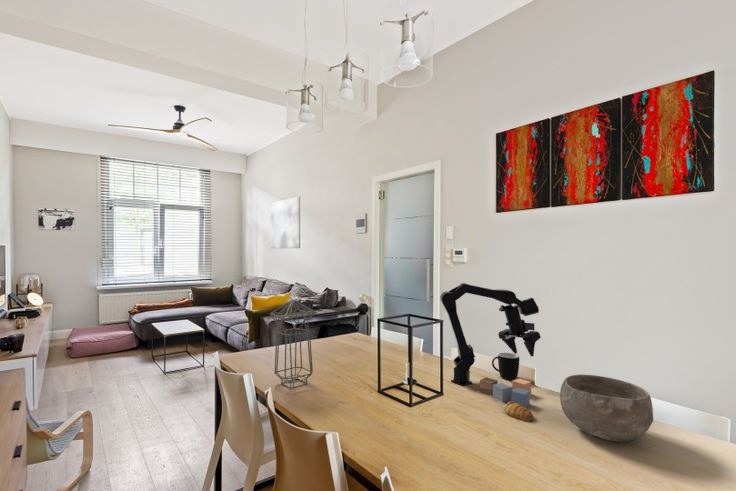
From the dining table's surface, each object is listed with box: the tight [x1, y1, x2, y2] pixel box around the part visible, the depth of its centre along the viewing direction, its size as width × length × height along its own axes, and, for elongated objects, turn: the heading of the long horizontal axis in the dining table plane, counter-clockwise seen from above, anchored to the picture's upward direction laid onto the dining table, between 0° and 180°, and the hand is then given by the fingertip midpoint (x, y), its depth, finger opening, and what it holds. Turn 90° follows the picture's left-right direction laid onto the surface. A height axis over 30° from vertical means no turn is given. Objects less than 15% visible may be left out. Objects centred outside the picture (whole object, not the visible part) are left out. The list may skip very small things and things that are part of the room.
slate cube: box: [492, 382, 512, 403], centre depth 144 cm, size 5×5×5 cm
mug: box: [491, 352, 520, 381], centre depth 170 cm, size 12×9×10 cm
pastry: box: [503, 401, 534, 422], centre depth 129 cm, size 9×7×4 cm
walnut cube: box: [479, 377, 499, 397], centre depth 151 cm, size 5×5×5 cm
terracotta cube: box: [511, 378, 532, 395], centre depth 150 cm, size 5×5×5 cm
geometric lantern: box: [269, 299, 318, 389], centre depth 159 cm, size 16×16×35 cm
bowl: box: [559, 374, 654, 442], centre depth 117 cm, size 24×24×15 cm
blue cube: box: [511, 388, 531, 408], centre depth 139 cm, size 5×5×5 cm
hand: (524, 354), depth 160 cm, fingers open, 9 cm apart
